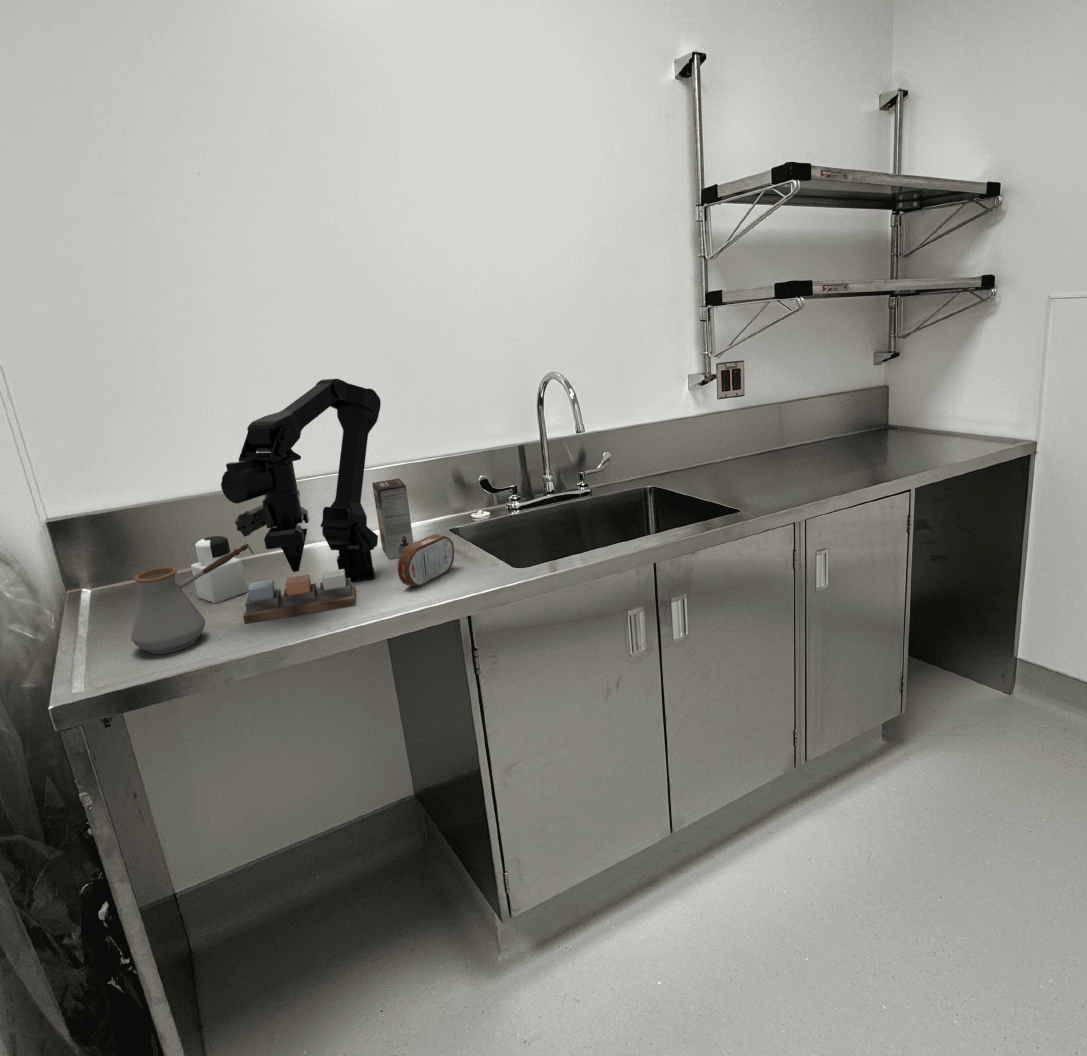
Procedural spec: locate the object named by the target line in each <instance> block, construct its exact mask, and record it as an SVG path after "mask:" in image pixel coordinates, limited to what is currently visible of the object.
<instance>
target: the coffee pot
mask: <svg viewBox="0 0 1087 1056" xmlns="http://www.w3.org/2000/svg"><path fill="white" fill-rule="evenodd" d="M247 549H248V550H249V551H250V553H251V554H252V555H254V554H255V553H254V550H253V549H252V547H251V546H250V545H249V544H248V543H247V544H244V545H241V546H240V547H239V548H235V549H233V551H232V552H231V553H229V554H227V555H225V556H222V557H221V558H219V559H218V560H216V561H215V562H213V563H212V564H210V565H209V566H207V567H206V568H204V569H203V570H202V571H200V572H199V573H197V574H195V575H193V574H192V576H189V577H188V578H186V579H185V580H183V581H181V582H180V583H177V582H176V581H175V580H176V574H177V572H178V571H177V568H175V567H160V568H155V569H149V570H147V571H144V572H141V573H139V574H137V575H135V576H134V578H133V580H134V581H135V582H136V583H138V584H139V586H140V587H139V588H140V589H141V590H140V594H139V597H138V598H139V599H138V603H137V608H136V612H135V617H134V621H133V625H132V630H131V635H130V637H131V639H130V640H131V641H132V642H133V643H134V645H135V646H136V647H138V648H139V649H142V650H144V651H147V652H148V653H149V654H153V655H154V654H156V655H157V654H158V655H159V654H168V653H173V652H177V651H180V650H183V649H186V648H188V647H190V646H191V645H193V644H194V643H196V641H197V639H198V638H199V637H200V636H201V635H202V633H203V631H204V629H205V625H206V619H205V618H204V616H203V615H202V613H201V612H200V611H199V610H198V608H197V607H196V606H195V605H194V604H193V602H192V601H191V600H190V598H189V597H188V595H186V593H185V592H184V591H183V590H182V589H183V588H184V587H186V586H188V585H190V584H191V583H193V582H195V581H194V580H196V579H198V578H199V577H201V576H202V575H204V574H206V573H208V572H210V571H212V570H214V569H216V568H217V567H219V566H221V565H223V564H225V563H227V562H228V561H229V560H230V559H232V558H235V556H239V555H240V553H242V552H245V551H246V550H247Z"/></svg>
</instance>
